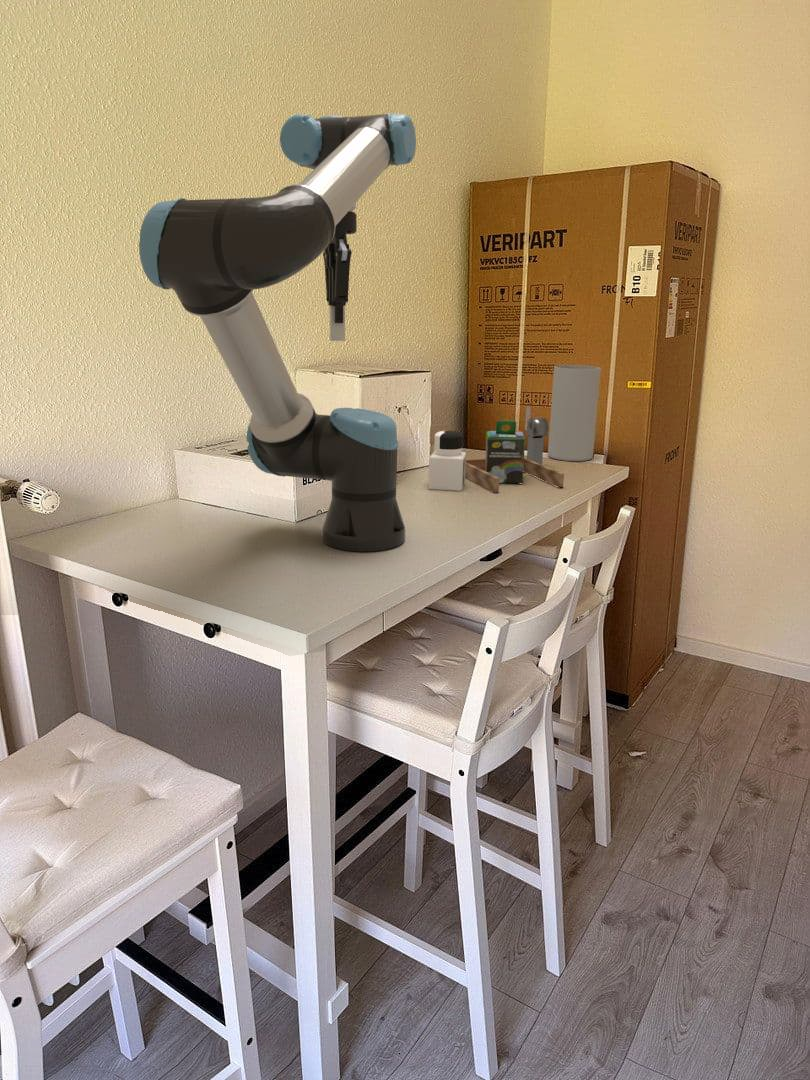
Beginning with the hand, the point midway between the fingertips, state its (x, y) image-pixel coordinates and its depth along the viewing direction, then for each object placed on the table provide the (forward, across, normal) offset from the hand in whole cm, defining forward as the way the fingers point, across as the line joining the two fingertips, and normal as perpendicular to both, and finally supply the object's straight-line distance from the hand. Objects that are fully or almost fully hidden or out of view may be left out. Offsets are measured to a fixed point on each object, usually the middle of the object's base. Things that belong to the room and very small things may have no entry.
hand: (337, 340), depth 153 cm
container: (+34, +13, -29) cm, 47 cm away
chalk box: (+34, +16, -46) cm, 59 cm away
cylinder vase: (+34, +37, -76) cm, 91 cm away
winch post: (+34, +28, -60) cm, 74 cm away
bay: (+34, +14, -46) cm, 59 cm away
